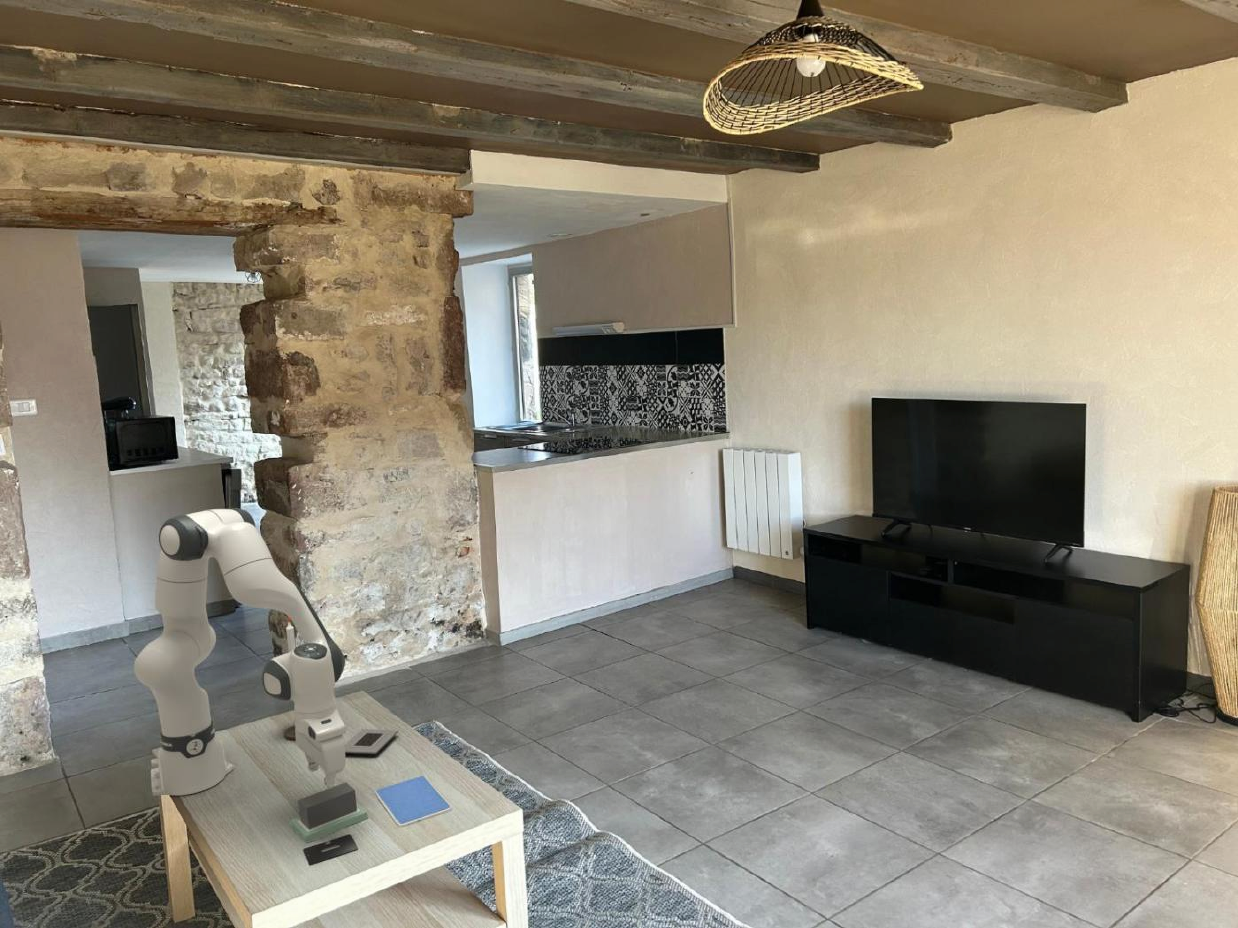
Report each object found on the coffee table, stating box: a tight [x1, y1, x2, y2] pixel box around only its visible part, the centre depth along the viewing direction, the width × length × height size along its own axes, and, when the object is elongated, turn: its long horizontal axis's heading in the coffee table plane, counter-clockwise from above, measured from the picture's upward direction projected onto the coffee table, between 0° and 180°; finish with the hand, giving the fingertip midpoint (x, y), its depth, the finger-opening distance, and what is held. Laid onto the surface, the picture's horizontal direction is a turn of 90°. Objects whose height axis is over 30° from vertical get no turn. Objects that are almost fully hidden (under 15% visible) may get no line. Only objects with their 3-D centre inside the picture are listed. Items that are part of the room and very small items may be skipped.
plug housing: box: [297, 782, 357, 830], centre depth 199 cm, size 5×11×5 cm, turn 130°
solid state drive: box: [302, 833, 359, 866], centre depth 189 cm, size 7×10×1 cm
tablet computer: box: [374, 775, 453, 828], centre depth 207 cm, size 19×13×1 cm, turn 32°
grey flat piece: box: [345, 728, 399, 756], centre depth 237 cm, size 13×10×2 cm
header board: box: [290, 801, 369, 844], centre depth 200 cm, size 9×14×4 cm, turn 130°
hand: (321, 777), depth 198 cm, fingers open, 8 cm apart
